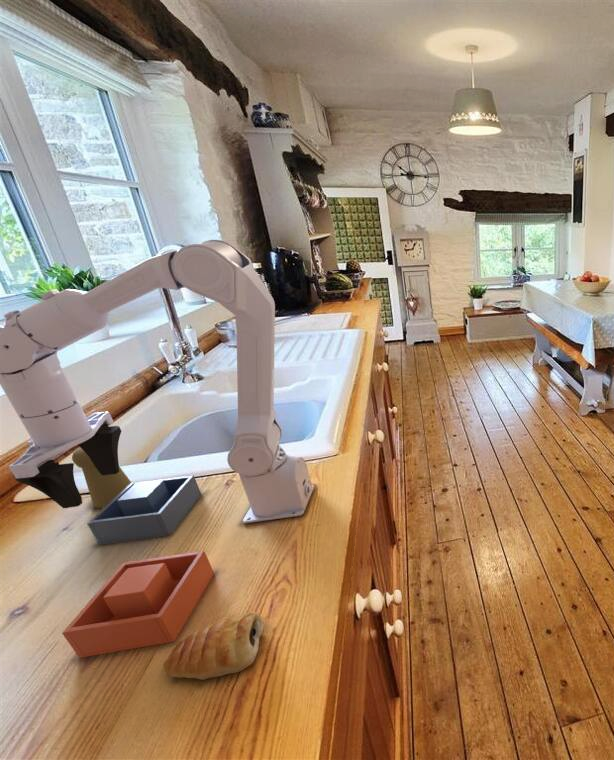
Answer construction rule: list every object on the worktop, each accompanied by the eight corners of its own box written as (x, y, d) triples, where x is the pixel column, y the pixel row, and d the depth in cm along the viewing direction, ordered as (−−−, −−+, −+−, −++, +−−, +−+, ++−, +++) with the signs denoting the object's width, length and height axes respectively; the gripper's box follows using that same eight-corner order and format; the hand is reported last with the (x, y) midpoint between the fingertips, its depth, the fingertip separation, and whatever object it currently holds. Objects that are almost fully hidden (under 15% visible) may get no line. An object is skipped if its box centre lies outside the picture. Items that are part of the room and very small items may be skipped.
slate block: (174, 505, 72) (163, 480, 70) (159, 523, 68) (146, 496, 66) (147, 509, 72) (134, 483, 69) (130, 527, 68) (116, 500, 65)
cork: (144, 486, 78) (121, 437, 74) (113, 508, 73) (86, 456, 68) (116, 485, 79) (91, 436, 74) (83, 507, 73) (54, 455, 69)
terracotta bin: (214, 573, 59) (204, 550, 57) (174, 641, 50) (160, 616, 48) (135, 585, 57) (122, 562, 56) (78, 658, 48) (61, 633, 46)
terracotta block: (179, 592, 56) (164, 562, 53) (160, 622, 52) (143, 591, 49) (143, 598, 55) (127, 568, 53) (121, 628, 51) (102, 597, 49)
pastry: (158, 699, 44) (144, 677, 42) (182, 641, 50) (171, 620, 48) (256, 669, 46) (247, 646, 45) (268, 617, 52) (260, 596, 51)
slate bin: (201, 494, 75) (193, 475, 74) (169, 535, 66) (159, 513, 64) (140, 502, 74) (130, 482, 72) (99, 544, 65) (86, 523, 63)
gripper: (59, 389, 62) (98, 464, 67) (-41, 438, 49) (17, 527, 54) (112, 384, 63) (146, 458, 68) (27, 431, 50) (78, 519, 55)
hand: (92, 488), depth 61 cm, fingers open, 7 cm apart
